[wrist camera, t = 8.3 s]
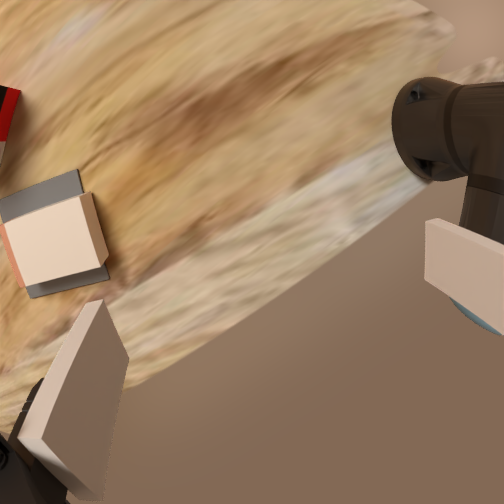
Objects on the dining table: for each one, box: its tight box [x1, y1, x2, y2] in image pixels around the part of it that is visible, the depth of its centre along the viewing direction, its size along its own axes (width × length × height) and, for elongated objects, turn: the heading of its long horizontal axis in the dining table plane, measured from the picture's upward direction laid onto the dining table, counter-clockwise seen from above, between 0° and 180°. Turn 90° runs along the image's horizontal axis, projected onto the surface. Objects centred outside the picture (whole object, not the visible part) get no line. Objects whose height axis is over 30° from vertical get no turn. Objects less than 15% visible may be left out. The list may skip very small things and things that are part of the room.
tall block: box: [0, 191, 109, 288], centre depth 32 cm, size 4×8×12 cm
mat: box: [0, 169, 110, 299], centre depth 34 cm, size 13×14×1 cm
